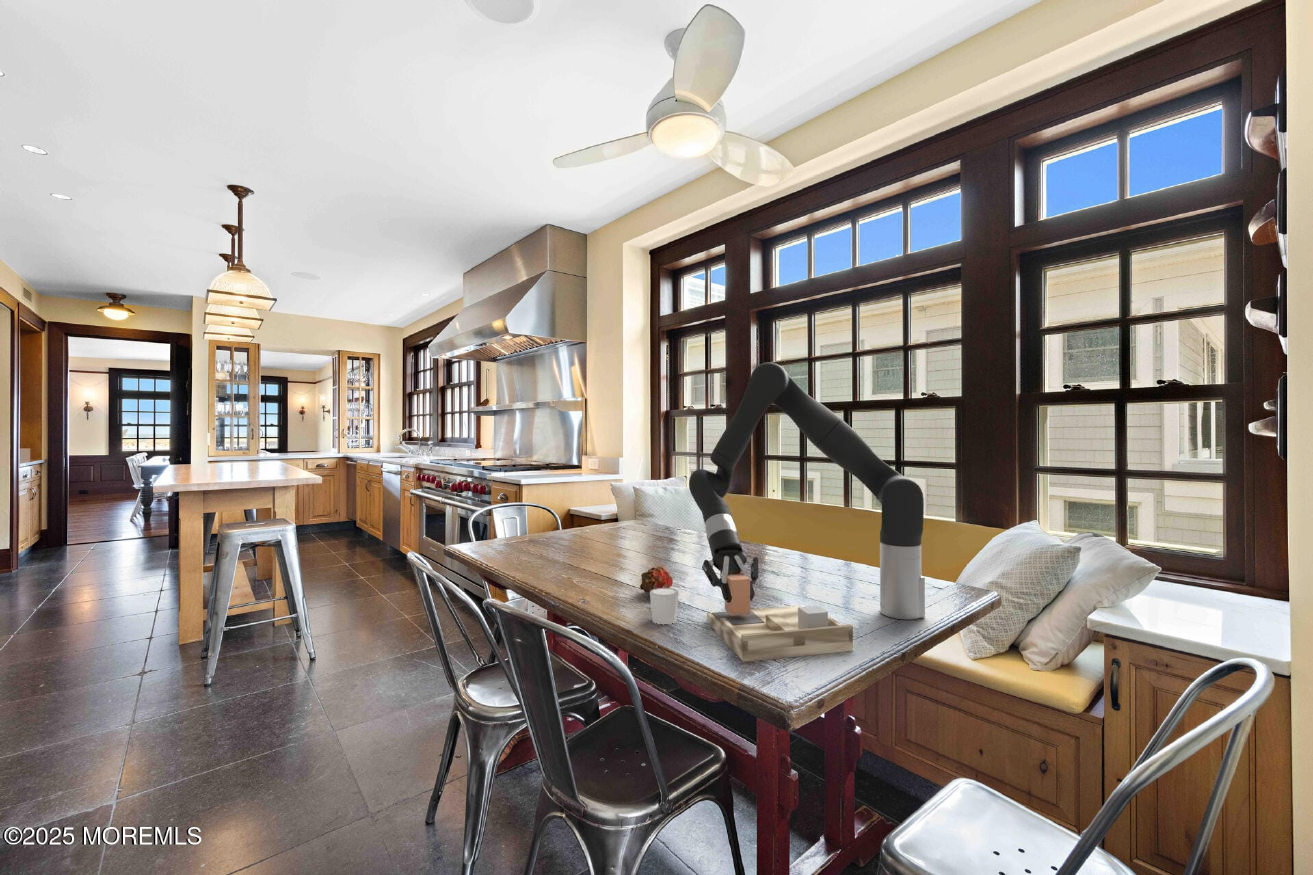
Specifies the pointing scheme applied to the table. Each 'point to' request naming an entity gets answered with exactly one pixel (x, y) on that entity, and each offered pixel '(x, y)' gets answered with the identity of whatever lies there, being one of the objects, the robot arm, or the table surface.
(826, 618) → the grey block
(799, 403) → the robot arm
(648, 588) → the dragon fruit
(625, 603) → the table surface
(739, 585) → the terracotta block
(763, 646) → the wooden divided tray
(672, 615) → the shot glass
